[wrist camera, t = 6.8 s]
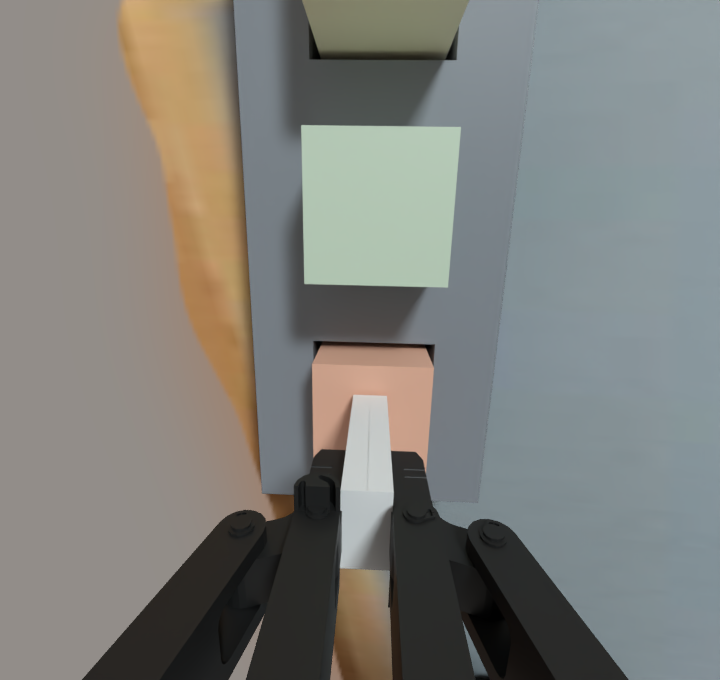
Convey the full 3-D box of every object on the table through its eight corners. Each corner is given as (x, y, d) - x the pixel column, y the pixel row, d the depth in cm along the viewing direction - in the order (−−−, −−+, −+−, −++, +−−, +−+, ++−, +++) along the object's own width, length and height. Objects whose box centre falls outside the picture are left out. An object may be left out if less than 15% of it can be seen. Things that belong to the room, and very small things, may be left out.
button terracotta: (329, 327, 23) (312, 363, 17) (418, 330, 23) (433, 367, 17) (329, 408, 25) (313, 469, 18) (413, 411, 24) (426, 474, 18)
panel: (260, -117, 18) (219, -240, 14) (517, -120, 18) (569, -247, 13) (282, 445, 27) (261, 493, 22) (459, 452, 26) (478, 502, 21)
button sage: (325, 159, 19) (301, 125, 13) (433, 160, 19) (461, 126, 13) (326, 267, 21) (304, 284, 14) (426, 269, 20) (448, 287, 14)
